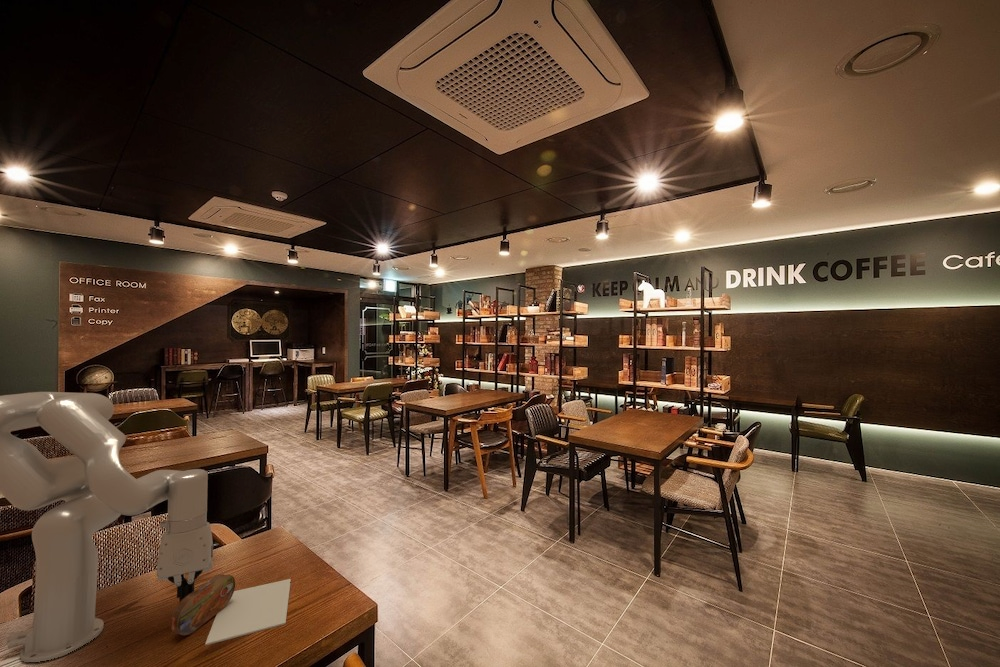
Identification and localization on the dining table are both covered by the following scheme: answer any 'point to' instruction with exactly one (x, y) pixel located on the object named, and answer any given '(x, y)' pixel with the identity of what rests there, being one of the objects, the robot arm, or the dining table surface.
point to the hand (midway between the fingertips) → (185, 598)
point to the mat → (251, 611)
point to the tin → (202, 604)
